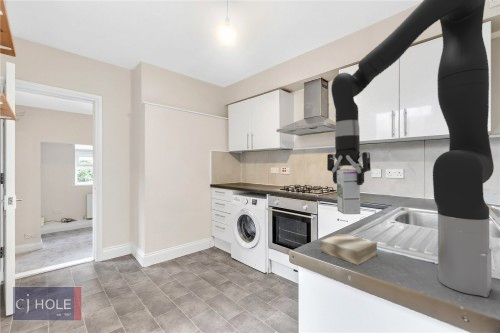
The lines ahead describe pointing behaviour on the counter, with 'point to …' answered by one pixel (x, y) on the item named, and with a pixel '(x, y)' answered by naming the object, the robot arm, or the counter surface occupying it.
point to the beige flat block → (349, 248)
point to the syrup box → (348, 192)
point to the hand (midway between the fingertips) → (347, 184)
